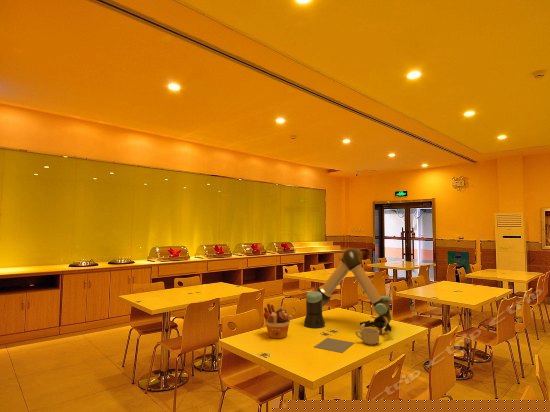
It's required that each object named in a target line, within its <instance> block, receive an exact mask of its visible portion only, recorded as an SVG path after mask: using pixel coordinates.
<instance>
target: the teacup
mask: <svg viewBox="0 0 550 412" xmlns="http://www.w3.org/2000/svg"><path fill="white" fill-rule="evenodd" d="M358 333H360V335H361V336H360V335H359V334H358ZM355 335H356V337H357V338H358V339H360V341H362V342H363V343H364V344H366V345H369V346H375V345H376V344H378V343H379V340H380V329H378V328H377V329H376V327H365V328H362V329H361V328H360V329H358V330H356V331H355Z"/></svg>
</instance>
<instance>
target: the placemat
mask: <svg viewBox="0 0 550 412" xmlns="http://www.w3.org/2000/svg"><path fill="white" fill-rule="evenodd" d="M354 344H355V342H353V341H348V340H342V339H336V338H331V337H327V338H324V339H323V340H322V341H320V342H319V343H317V344H316V345H314V346H313V348H314V349H315V348H316V349H321V350H324V351H325V350H326V351H331V352H335V353H340V354H343V353H345V351H347V350H348V349H349V348H350V347H351V346H353V345H354Z"/></svg>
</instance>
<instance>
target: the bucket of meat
mask: <svg viewBox="0 0 550 412" xmlns="http://www.w3.org/2000/svg"><path fill="white" fill-rule="evenodd" d="M283 308H284V307H283V306H280V307H278V308H277V309H278V310H276V309H275V306H274V304H270V303H267V304H266V307H264V308H263V310H264V313H263V318H264V319H265V321H264V322H265V324H266V325H265V326H266V329H267V334H268V336H269V337H270V338H271V339H275V340H276V339H277V340H279V339H284V338H286V337H287V335H288V332H289V328H290V327H289V326H290V322H291V319H292V318H293V316H292V315H291V314H289V315H288V313H287V310H286V309H283Z"/></svg>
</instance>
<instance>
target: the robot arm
mask: <svg viewBox="0 0 550 412" xmlns="http://www.w3.org/2000/svg"><path fill="white" fill-rule="evenodd" d="M362 259H363V254H362V252H361V250H359V249H358V248H355V247H352V248H348V249H346V250H345V251H344V252H343V254H342V257H341V258H340V263H339V264H338V266H337V267H336V268H335V269H334V270H333V272H332V273H331V275H330V276H329V277H328V279H326V281H325V282H324V284H323V285H321V286H319V287H318V288H317V289H316V291H308V292H307V293H306V295H305V306H306V307H305V308H306V309H305V311H306V313H305V316H304V321H303V326H304V327H306V328H309V329H321V328H324V327H325V326H326V322H325V318H324V316H323V315H324V314H323V307H325V306H326V305H327V304H328V303H329V301H330V299H331V298H332V297H333V296H332V295H333V294H332V293H334V291H335V290H336V288H338V286H339V285H340V284H341V282H342V281H343V279H344V278H345V277H346V276H347V275H348V274H349V272H352V274H353V276H354V277H355V279H356V280H357V282H358V284H359V285H360V286H361V288H362V289H363V291H364V293H365V294H366V296H367V297H368V299H369V301H370V303H371V304H372V306H373V308H374V311H375V313H376V314H377V315H378V316H377V317H376V318H374V320H373V321H371V320H365V321H362V322H361V321H360V322H359V327H360V330H361V329H362V328H377V329H378V330H381V334H385V333H386V332H388V331H389V332H392V326H391V324H390V322H391V320H392V315H391V310H390V309H391V308H390V297H389V296H388V295H380V293H379V291H378V290H377V288H376V287H375V285H374V284H373V282H372V281H371V279H370V278H369V276H368V275H367V273H366V271H365V270H364V268H363V266H362Z"/></svg>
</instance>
